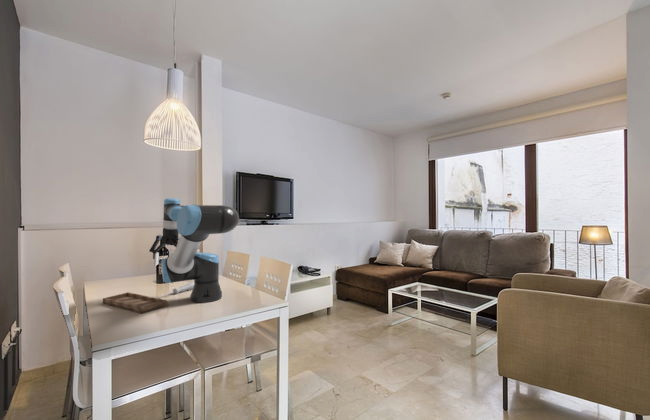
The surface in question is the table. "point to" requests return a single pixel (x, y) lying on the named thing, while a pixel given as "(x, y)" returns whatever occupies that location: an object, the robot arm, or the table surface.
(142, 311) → the tool tray
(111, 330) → the table surface
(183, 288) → the screwdriver
